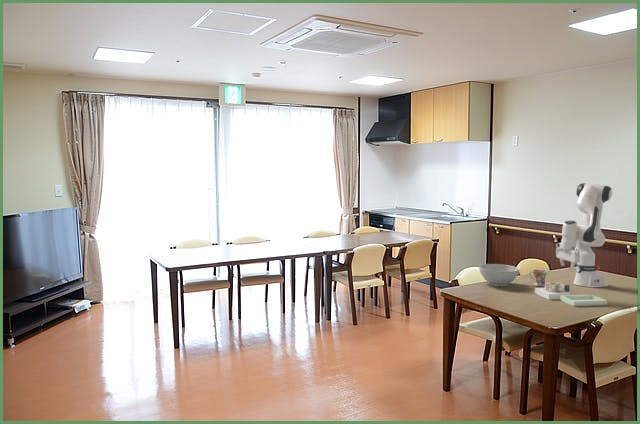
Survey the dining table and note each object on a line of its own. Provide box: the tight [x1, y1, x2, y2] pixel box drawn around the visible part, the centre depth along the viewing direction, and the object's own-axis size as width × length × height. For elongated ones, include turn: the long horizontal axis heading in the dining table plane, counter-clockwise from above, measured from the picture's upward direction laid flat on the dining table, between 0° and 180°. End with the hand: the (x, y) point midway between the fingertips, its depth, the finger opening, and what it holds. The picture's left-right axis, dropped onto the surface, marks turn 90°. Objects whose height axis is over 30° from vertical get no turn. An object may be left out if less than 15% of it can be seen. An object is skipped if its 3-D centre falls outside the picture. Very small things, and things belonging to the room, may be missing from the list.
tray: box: [559, 294, 608, 307], centre depth 317 cm, size 22×14×3 cm, turn 98°
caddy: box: [544, 282, 570, 292], centre depth 332 cm, size 15×6×8 cm, turn 98°
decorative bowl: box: [478, 263, 520, 288], centre depth 361 cm, size 27×27×12 cm
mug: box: [529, 269, 548, 288], centre depth 359 cm, size 12×9×11 cm
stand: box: [534, 287, 571, 301], centre depth 332 cm, size 15×16×4 cm
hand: (567, 267), depth 332 cm, fingers open, 8 cm apart
